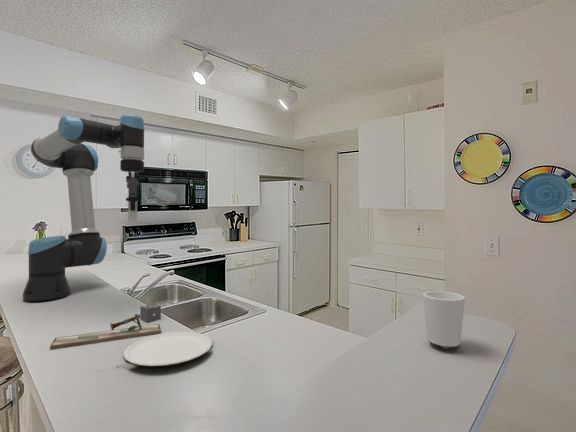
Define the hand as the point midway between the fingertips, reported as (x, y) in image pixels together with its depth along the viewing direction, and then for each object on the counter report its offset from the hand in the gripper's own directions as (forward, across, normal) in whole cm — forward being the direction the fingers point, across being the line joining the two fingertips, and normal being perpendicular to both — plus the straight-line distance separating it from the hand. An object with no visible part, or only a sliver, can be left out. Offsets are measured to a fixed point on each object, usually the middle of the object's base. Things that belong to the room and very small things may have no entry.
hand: (132, 220), depth 116 cm
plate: (+32, +41, +8) cm, 53 cm away
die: (+32, +14, +5) cm, 35 cm away
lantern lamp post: (+30, +25, -6) cm, 39 cm away
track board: (+32, +25, -6) cm, 41 cm away
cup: (+32, +69, +72) cm, 105 cm away
